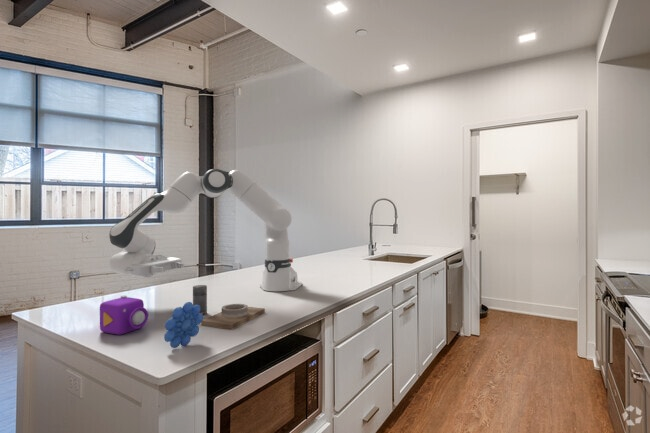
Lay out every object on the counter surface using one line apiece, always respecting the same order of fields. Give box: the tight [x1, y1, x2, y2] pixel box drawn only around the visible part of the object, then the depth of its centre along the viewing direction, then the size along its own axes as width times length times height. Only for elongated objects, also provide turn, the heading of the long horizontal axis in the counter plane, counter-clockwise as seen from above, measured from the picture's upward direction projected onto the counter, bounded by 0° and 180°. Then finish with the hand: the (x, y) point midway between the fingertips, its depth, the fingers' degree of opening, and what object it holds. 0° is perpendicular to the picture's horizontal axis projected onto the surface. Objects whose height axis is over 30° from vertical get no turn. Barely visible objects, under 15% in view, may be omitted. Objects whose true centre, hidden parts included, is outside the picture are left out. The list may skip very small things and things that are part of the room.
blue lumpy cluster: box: [163, 301, 204, 349], centre depth 101 cm, size 12×7×12 cm, turn 144°
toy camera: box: [99, 295, 149, 336], centre depth 113 cm, size 11×14×10 cm
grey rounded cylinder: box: [192, 284, 208, 316], centre depth 131 cm, size 5×5×10 cm
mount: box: [200, 303, 266, 330], centre depth 126 cm, size 20×12×4 cm, turn 159°
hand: (173, 267), depth 135 cm, fingers open, 8 cm apart
